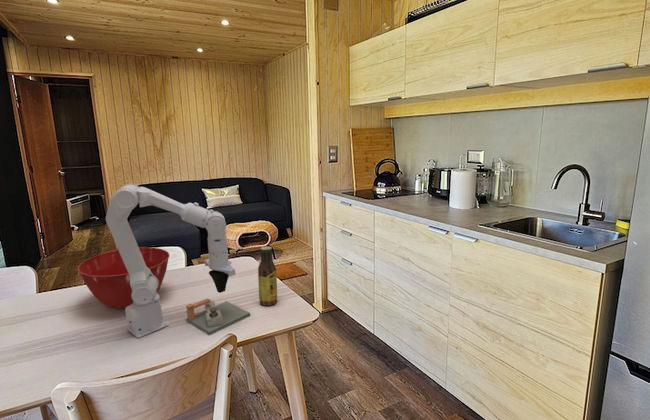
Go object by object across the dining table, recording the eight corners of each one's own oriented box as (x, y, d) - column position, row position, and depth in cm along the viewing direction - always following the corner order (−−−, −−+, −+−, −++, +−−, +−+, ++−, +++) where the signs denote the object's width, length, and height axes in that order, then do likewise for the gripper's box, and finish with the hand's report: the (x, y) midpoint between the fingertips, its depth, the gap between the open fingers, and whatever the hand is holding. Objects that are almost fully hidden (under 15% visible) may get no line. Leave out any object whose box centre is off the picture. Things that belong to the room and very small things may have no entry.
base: (209, 335, 109) (207, 317, 108) (186, 320, 118) (184, 304, 116) (250, 315, 120) (249, 299, 119) (226, 303, 129) (225, 288, 127)
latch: (222, 323, 113) (222, 316, 113) (207, 327, 111) (207, 319, 111) (216, 307, 124) (215, 300, 123) (202, 310, 122) (202, 303, 121)
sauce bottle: (274, 307, 126) (271, 251, 121) (256, 306, 127) (253, 250, 123) (280, 298, 132) (277, 245, 128) (263, 297, 133) (260, 244, 129)
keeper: (190, 320, 116) (189, 306, 115) (187, 318, 117) (186, 305, 116) (211, 311, 121) (210, 298, 120) (208, 309, 123) (207, 296, 122)
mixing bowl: (187, 284, 145) (183, 247, 142) (146, 321, 118) (140, 276, 114) (119, 282, 148) (114, 246, 145) (63, 318, 120) (55, 274, 117)
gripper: (242, 252, 114) (245, 293, 117) (216, 243, 124) (219, 281, 127) (222, 258, 109) (225, 301, 112) (197, 248, 119) (201, 288, 122)
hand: (221, 291), depth 119 cm, fingers closed
